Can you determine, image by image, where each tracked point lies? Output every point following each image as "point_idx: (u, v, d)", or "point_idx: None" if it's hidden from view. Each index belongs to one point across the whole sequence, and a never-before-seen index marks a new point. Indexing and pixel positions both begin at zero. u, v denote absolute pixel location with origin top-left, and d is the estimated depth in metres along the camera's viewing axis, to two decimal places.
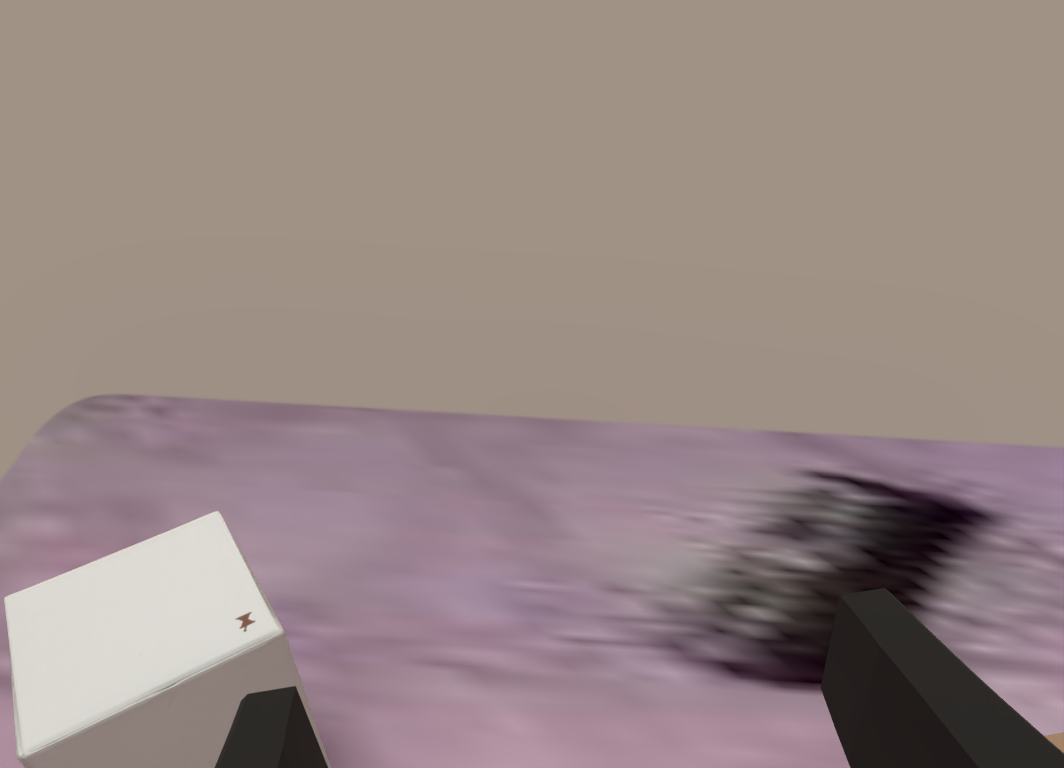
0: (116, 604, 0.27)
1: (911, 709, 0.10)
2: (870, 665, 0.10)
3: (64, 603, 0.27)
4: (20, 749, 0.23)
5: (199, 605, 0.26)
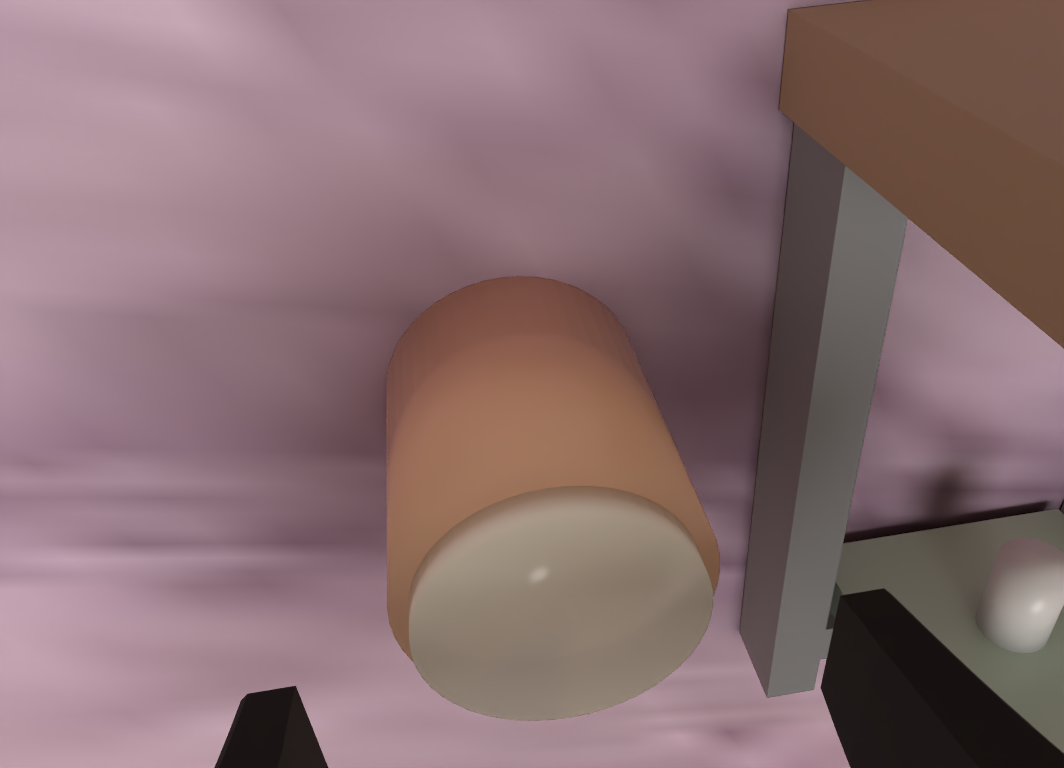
0: None
1: (911, 709, 0.10)
2: (870, 665, 0.10)
3: None
4: None
5: None
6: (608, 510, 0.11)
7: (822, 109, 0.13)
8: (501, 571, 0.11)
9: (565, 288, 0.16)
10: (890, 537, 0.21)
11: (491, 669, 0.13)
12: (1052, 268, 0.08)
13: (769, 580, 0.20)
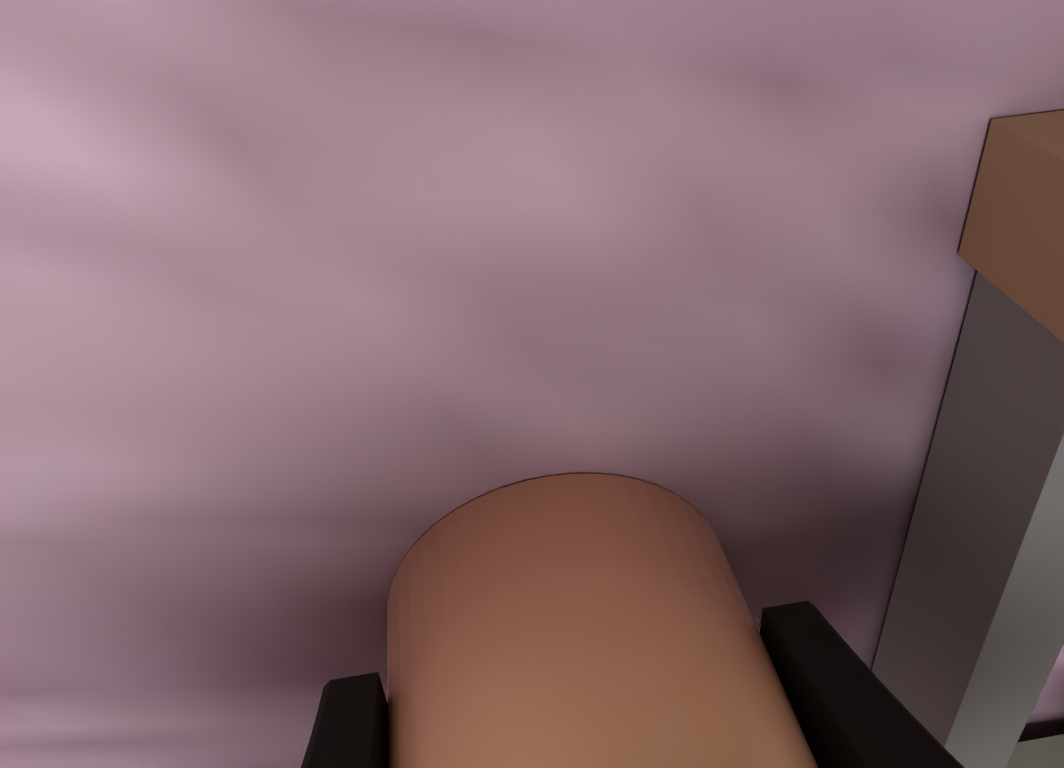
0: None
1: (823, 724, 0.10)
2: (788, 679, 0.10)
3: None
4: None
5: None
6: None
7: (1059, 282, 0.08)
8: None
9: (639, 490, 0.11)
10: (1030, 742, 0.16)
11: None
12: None
13: None
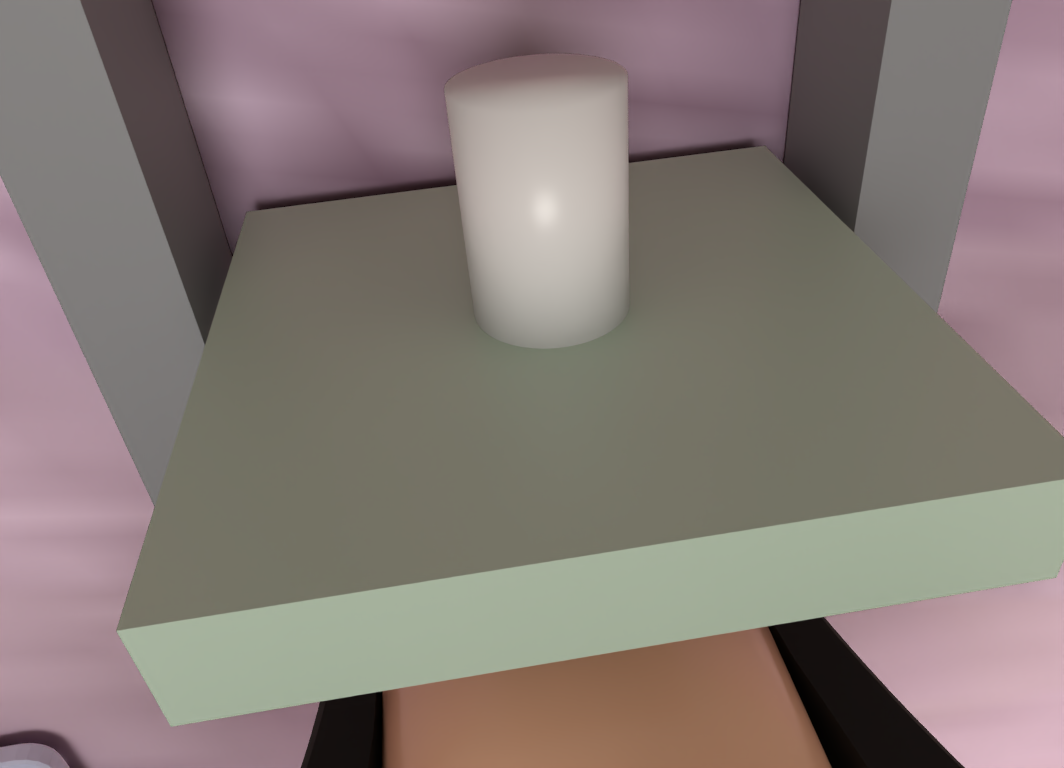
0: None
1: (823, 725, 0.10)
2: None
3: None
4: None
5: None
6: None
7: None
8: None
9: None
10: (406, 192, 0.10)
11: None
12: None
13: None
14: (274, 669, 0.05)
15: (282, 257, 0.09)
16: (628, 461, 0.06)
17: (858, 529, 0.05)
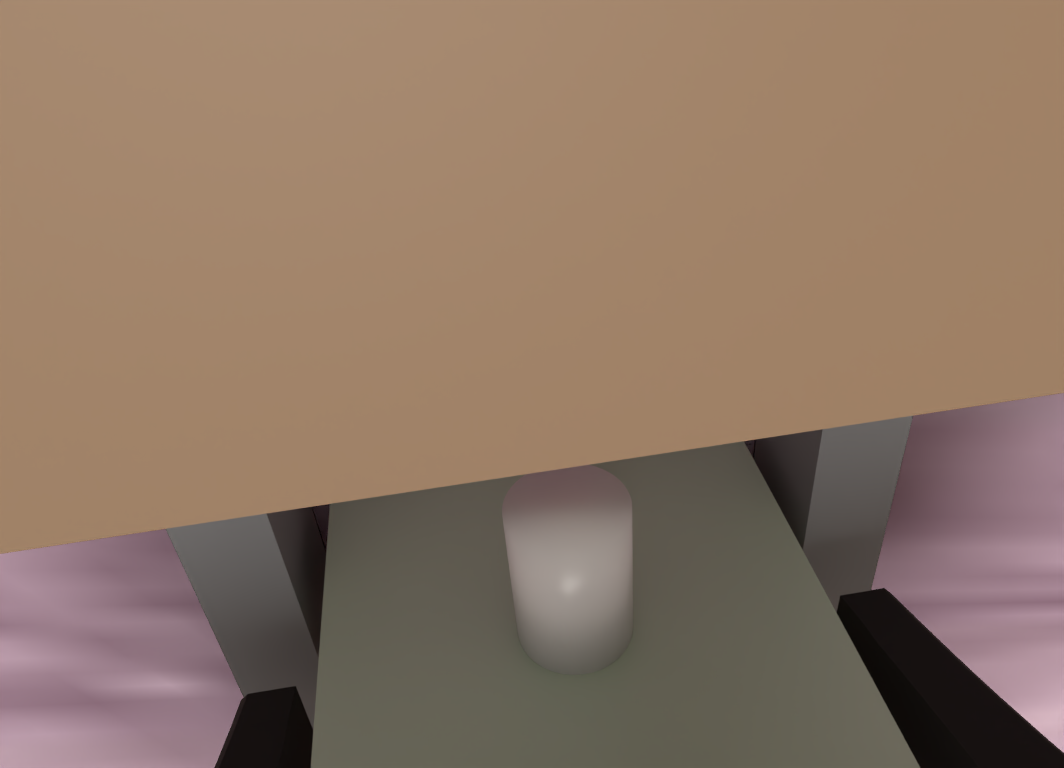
0: None
1: (911, 709, 0.10)
2: (870, 665, 0.10)
3: None
4: None
5: None
6: None
7: None
8: None
9: None
10: None
11: None
12: None
13: None
14: None
15: (365, 555, 0.12)
16: None
17: None
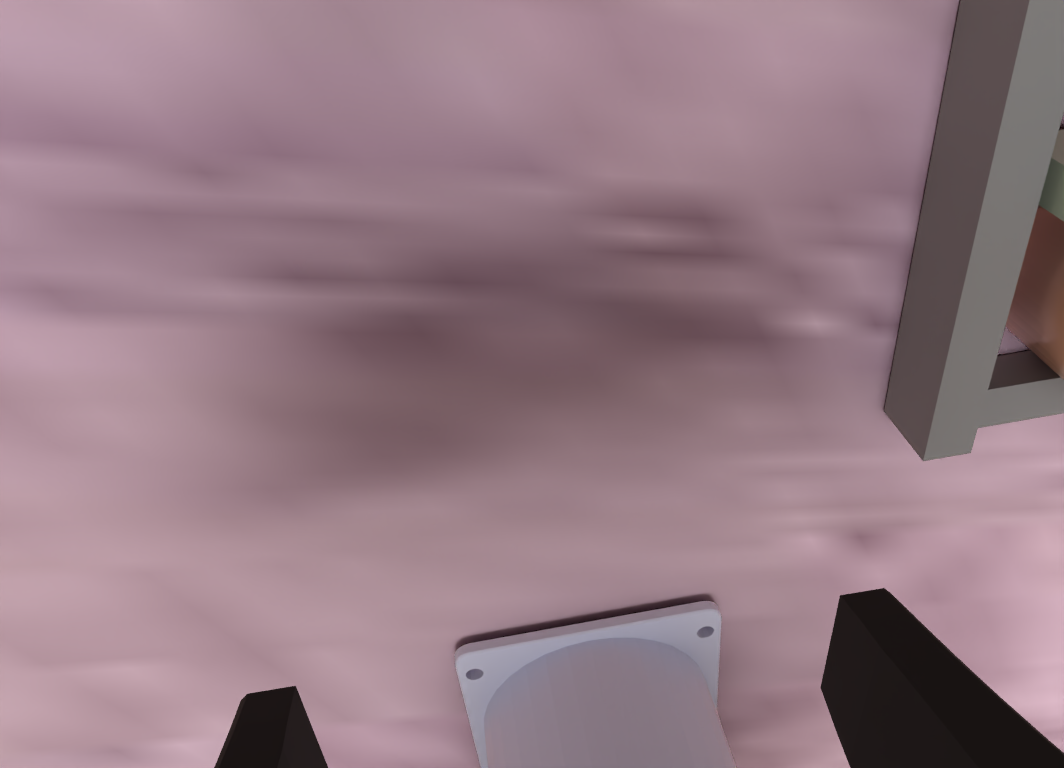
0: None
1: (911, 709, 0.10)
2: (870, 665, 0.10)
3: None
4: None
5: None
6: None
7: None
8: None
9: None
10: None
11: None
12: None
13: (934, 323, 0.19)
14: None
15: None
16: None
17: None
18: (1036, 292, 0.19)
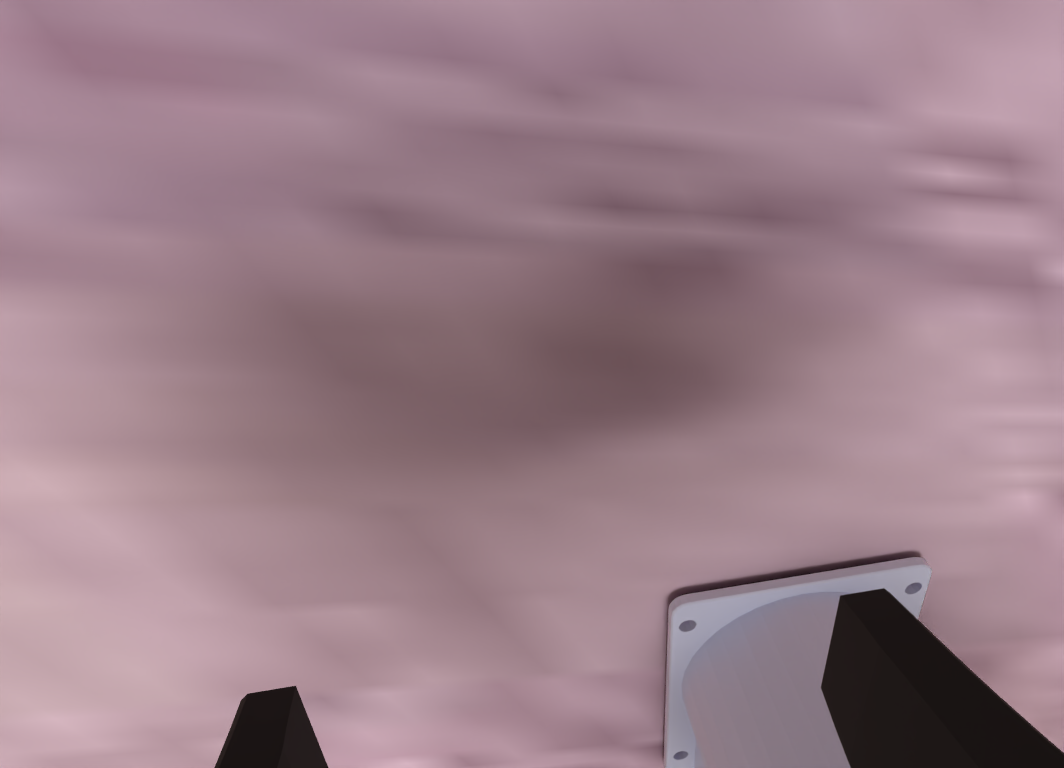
0: None
1: (911, 709, 0.10)
2: (870, 665, 0.10)
3: None
4: None
5: None
6: None
7: None
8: None
9: None
10: None
11: None
12: None
13: None
14: None
15: None
16: None
17: None
18: None
